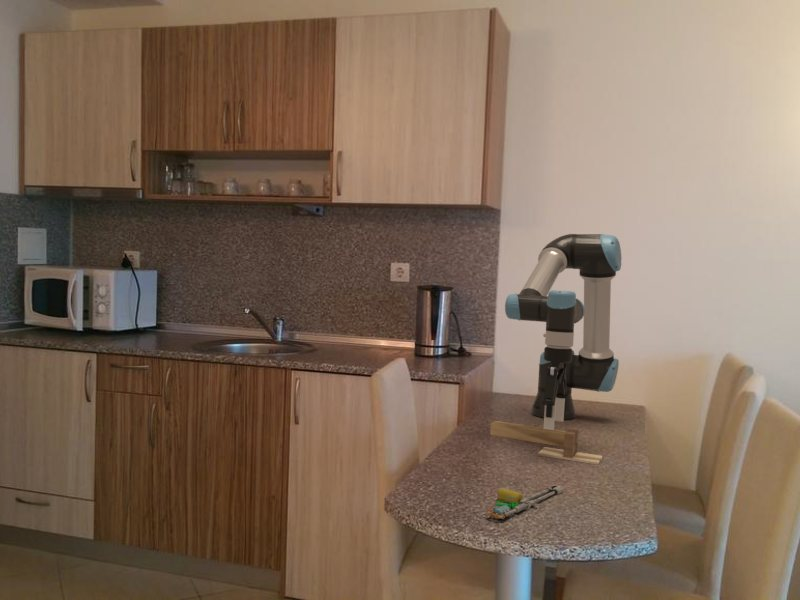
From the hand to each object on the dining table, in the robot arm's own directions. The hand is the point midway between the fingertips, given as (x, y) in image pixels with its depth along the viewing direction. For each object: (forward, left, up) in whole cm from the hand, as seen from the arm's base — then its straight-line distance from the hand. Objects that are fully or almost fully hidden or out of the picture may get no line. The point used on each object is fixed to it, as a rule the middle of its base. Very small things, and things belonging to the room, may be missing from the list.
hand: (553, 425), depth 189 cm
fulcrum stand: (0, +5, -8) cm, 9 cm away
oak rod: (-13, -9, -8) cm, 18 cm away
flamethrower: (+46, +3, -9) cm, 47 cm away
